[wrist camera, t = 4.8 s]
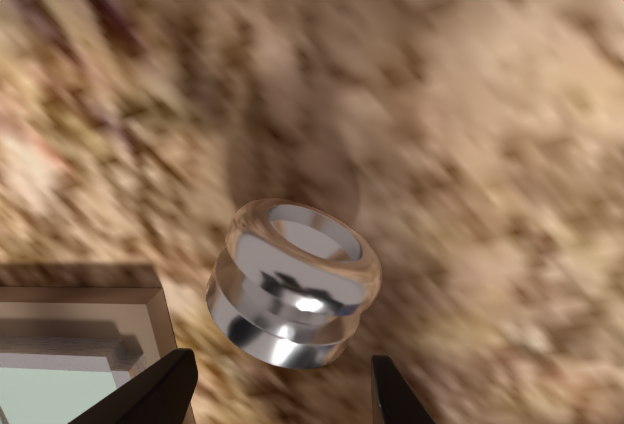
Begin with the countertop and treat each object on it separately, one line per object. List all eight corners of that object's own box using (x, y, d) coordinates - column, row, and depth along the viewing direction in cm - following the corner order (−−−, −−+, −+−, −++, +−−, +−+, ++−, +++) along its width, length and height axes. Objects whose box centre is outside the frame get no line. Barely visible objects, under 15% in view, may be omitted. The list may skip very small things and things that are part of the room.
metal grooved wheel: (237, 243, 13) (173, 323, 8) (262, 178, 12) (205, 227, 7) (347, 291, 13) (349, 397, 8) (381, 232, 12) (405, 314, 7)
